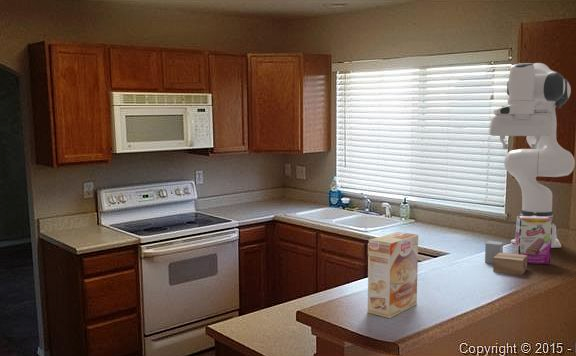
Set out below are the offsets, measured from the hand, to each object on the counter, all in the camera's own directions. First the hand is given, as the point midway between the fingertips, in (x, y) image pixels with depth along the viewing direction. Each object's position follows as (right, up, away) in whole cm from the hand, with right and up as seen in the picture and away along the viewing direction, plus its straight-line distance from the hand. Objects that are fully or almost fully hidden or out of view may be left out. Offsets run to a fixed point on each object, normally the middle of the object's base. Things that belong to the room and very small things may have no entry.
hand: (519, 149), depth 199 cm
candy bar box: (+5, -41, +1) cm, 41 cm away
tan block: (-7, -42, -9) cm, 43 cm away
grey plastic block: (-8, -40, +2) cm, 41 cm away
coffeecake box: (-54, -45, -48) cm, 85 cm away
